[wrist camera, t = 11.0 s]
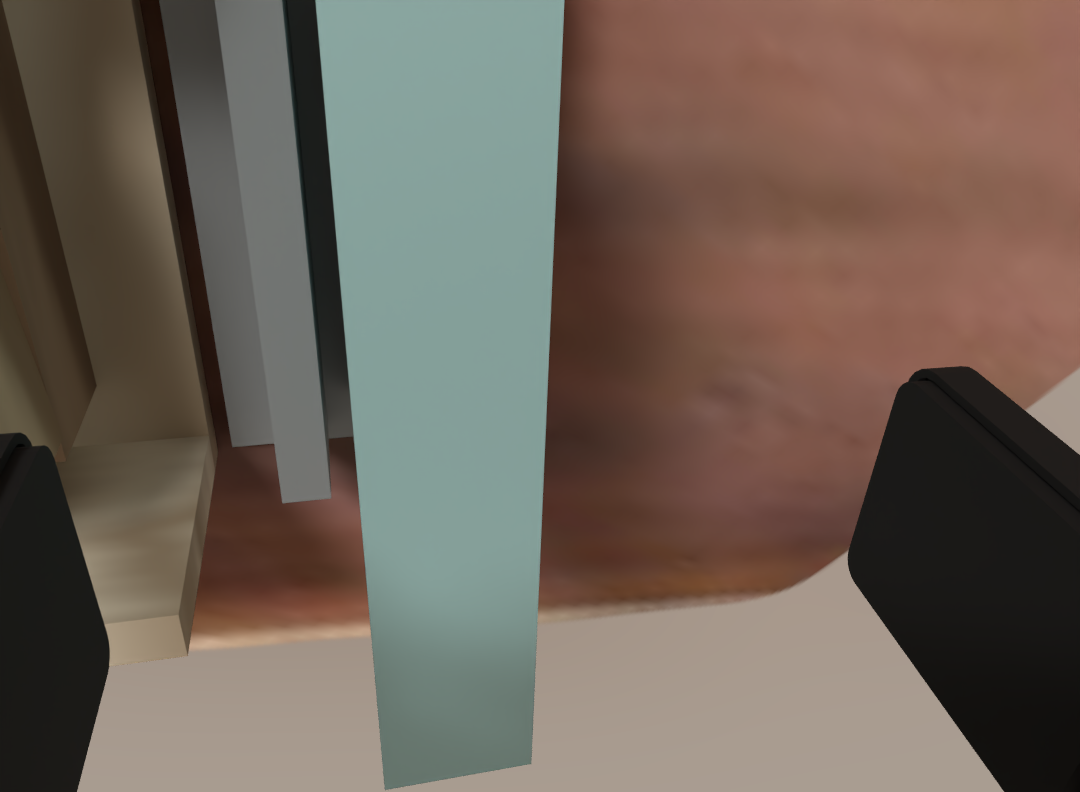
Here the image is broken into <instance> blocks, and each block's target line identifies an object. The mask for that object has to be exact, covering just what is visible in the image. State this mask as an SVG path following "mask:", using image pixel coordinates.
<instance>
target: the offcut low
mask: <svg viewBox="0 0 1080 792" xmlns="http://www.w3.org/2000/svg"><path fill="white" fill-rule="evenodd" d="M0 269H1V271H2V274H3V277H4V280H5V282H6V285H7V288H8V290H9V293H10V296H11V298H12V301H13V304H14V306H15V309H16V312H17V315H18V317H19V320H20V323H21V325H22V328H23V331H24V333H25V336H26V339H27V341H28V344H29V347H30V350H31V352H32V355H33V358H34V360H35V363H36V366H37V368H38V371H39V374H40V376H41V379H42V382H43V384H44V387H45V390H46V393H47V395H48V398H49V401H50V403H51V406H52V409H53V411H54V414H55V417H56V419H57V422H58V425H59V428H60V430H61V433H62V436H63V439H62V442H61V444H60V446H59V449H58V451H57V453H56V456H55V458H54V459H55V462H66V461H67V458H68V456H69V453H70V451H71V448H72V446H73V443H74V441H75V438H76V436H77V434H78V431H79V429H80V426H81V424H82V421H83V419H84V416H85V414H86V411H87V409H88V406H89V404H90V402H91V399H92V397H93V394H94V392H95V389H96V387H97V385H96V381H95V376H94V372H93V368H92V364H91V360H90V356H89V352H88V348H87V344H86V340H85V336H84V332H83V328H82V324H81V320H80V316H79V312H78V307H77V303H76V299H75V295H74V291H73V287H72V283H71V279H70V275H69V271H68V267H67V263H66V259H65V255H64V251H63V247H62V243H61V238H60V234H59V230H58V226H57V222H56V218H55V214H54V210H53V206H52V202H51V198H50V194H49V190H48V186H47V182H46V178H45V174H44V170H43V165H42V161H41V157H40V153H39V149H38V145H37V141H36V137H35V133H34V129H33V125H32V121H31V117H30V113H29V109H28V105H27V101H26V96H25V92H24V88H23V84H22V80H21V76H20V72H19V68H18V64H17V60H16V56H15V52H14V48H13V44H12V40H11V36H10V32H9V27H8V23H7V19H6V15H5V11H4V7H3V3H2V0H0Z"/></svg>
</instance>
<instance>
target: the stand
mask: <svg viewBox="0 0 1080 792" xmlns="http://www.w3.org/2000/svg"><path fill="white" fill-rule="evenodd" d="M159 3H160V9H161V15H162V21H163V27H164V33H165V39H166V45H167V51H168V58H169V64H170V70H171V76H172V82H173V88H174V94H175V100H176V106H177V113H178V119H179V125H180V131H181V137H182V143H183V149H184V155H185V161H186V168H187V174H188V180H189V186H190V192H191V198H192V204H193V210H194V216H195V222H196V229H197V235H198V241H199V247H200V253H201V259H202V265H203V271H204V277H205V284H206V290H207V296H208V302H209V308H210V314H211V320H212V326H213V332H214V339H215V345H216V351H217V357H218V363H219V369H220V375H221V381H222V387H223V394H224V400H225V406H226V412H227V418H228V424H229V430H230V436H231V442H232V447H240V446H251V445H263V444H274V445H275V453H276V460H277V467H278V475H279V482H280V490H281V497H282V503H290V502H300V501H310V500H320V499H329V498H331V482H330V459H329V439H331V438H342V437H353V436H354V435H353V424H352V412H351V401H350V390H349V378H348V367H347V356H346V344H345V333H344V321H343V310H342V299H341V287H340V276H339V265H338V253H337V242H336V230H335V219H334V208H333V196H332V185H331V174H330V162H329V151H328V139H327V128H326V117H325V105H324V94H323V83H322V71H321V60H320V48H319V37H318V26H317V14H316V3H315V0H159Z"/></svg>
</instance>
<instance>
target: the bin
mask: <svg viewBox="0 0 1080 792" xmlns="http://www.w3.org/2000/svg"><path fill="white" fill-rule="evenodd" d="M2 3H3V7H4V11H5V15H6V19H7V23H8V27H9V32H10V36H11V40H12V44H13V48H14V52H15V56H16V60H17V64H18V68H19V72H20V76H21V80H22V84H23V88H24V92H25V96H26V101H27V105H28V109H29V113H30V117H31V121H32V125H33V129H34V133H35V137H36V141H37V145H38V149H39V153H40V157H41V161H42V165H43V170H44V174H45V178H46V182H47V186H48V190H49V194H50V198H51V202H52V206H53V210H54V214H55V218H56V222H57V226H58V230H59V234H60V238H61V243H62V247H63V251H64V255H65V259H66V263H67V267H68V271H69V275H70V279H71V283H72V287H73V291H74V295H75V299H76V303H77V307H78V312H79V316H80V320H81V324H82V328H83V332H84V336H85V340H86V344H87V348H88V352H89V356H90V360H91V364H92V368H93V372H94V376H95V381H96V385H97V387H96V389H95V392H94V394H93V397H92V399H91V402H90V404H89V406H88V409H87V411H86V414H85V416H84V419H83V421H82V424H81V426H80V429H79V431H78V434H77V436H76V438H75V441H74V443H73V446H72V448H71V451H70V453H69V456H68V458H67V461H66V462H56V466H57V469H58V472H59V476H60V479H61V482H62V485H63V489H64V492H65V495H66V499H67V502H68V505H69V509H70V512H71V515H72V519H73V522H74V525H75V529H76V532H77V535H78V538H79V542H80V545H81V548H82V552H83V555H84V558H85V562H86V565H87V568H88V572H89V575H90V578H91V581H92V585H93V588H94V591H95V595H96V598H97V601H98V605H99V608H100V611H101V615H102V618H103V621H104V625H105V628H106V631H107V635H108V639H109V647H110V661H109V667H110V666H117V665H124V664H132V663H139V662H147V661H154V660H161V659H169V658H176V657H183V656H188V650H189V644H190V637H191V630H192V624H193V617H194V610H195V603H196V597H197V590H198V583H199V577H200V570H201V563H202V556H203V550H204V543H205V536H206V530H207V523H208V516H209V509H210V503H211V496H212V489H213V483H214V476H215V469H216V462H217V456H218V448H217V443H216V437H215V431H214V425H213V420H212V414H211V408H210V402H209V397H208V391H207V385H206V379H205V374H204V368H203V362H202V356H201V351H200V345H199V339H198V333H197V328H196V322H195V316H194V311H193V305H192V299H191V293H190V288H189V282H188V276H187V270H186V265H185V259H184V253H183V247H182V242H181V236H180V230H179V224H178V219H177V213H176V207H175V201H174V196H173V190H172V184H171V178H170V173H169V167H168V161H167V155H166V150H165V144H164V138H163V132H162V127H161V121H160V115H159V109H158V104H157V98H156V92H155V86H154V81H153V75H152V69H151V63H150V58H149V52H148V46H147V40H146V35H145V29H144V23H143V17H142V12H141V6H140V0H2Z"/></svg>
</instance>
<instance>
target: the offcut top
mask: <svg viewBox="0 0 1080 792" xmlns="http://www.w3.org/2000/svg"><path fill="white" fill-rule="evenodd" d="M19 432H21V433H23V434H25V435H26V436H27V437H28V439H29V440H30V441H31V444H32V446H42V445H45V446H47V447H49V449H50V450H51V452H52V454H53V456H54V458H55V456H56V453H57V451H58V449H59V446H60V444H61V442H62V439H63V436H62V433H61V430H60V428H59V425H58V422H57V419H56V417H55V414H54V411H53V409H52V406H51V403H50V401H49V398H48V395H47V393H46V390H45V387H44V384H43V382H42V379H41V376H40V374H39V371H38V368H37V366H36V363H35V360H34V358H33V355H32V352H31V350H30V347H29V344H28V341H27V339H26V336H25V333H24V331H23V328H22V325H21V323H20V320H19V317H18V315H17V312H16V309H15V306H14V304H13V301H12V298H11V296H10V293H9V290H8V288H7V285H6V282H5V280H4V277H3V274H2V271H1V269H0V434H5V433H19Z"/></svg>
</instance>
